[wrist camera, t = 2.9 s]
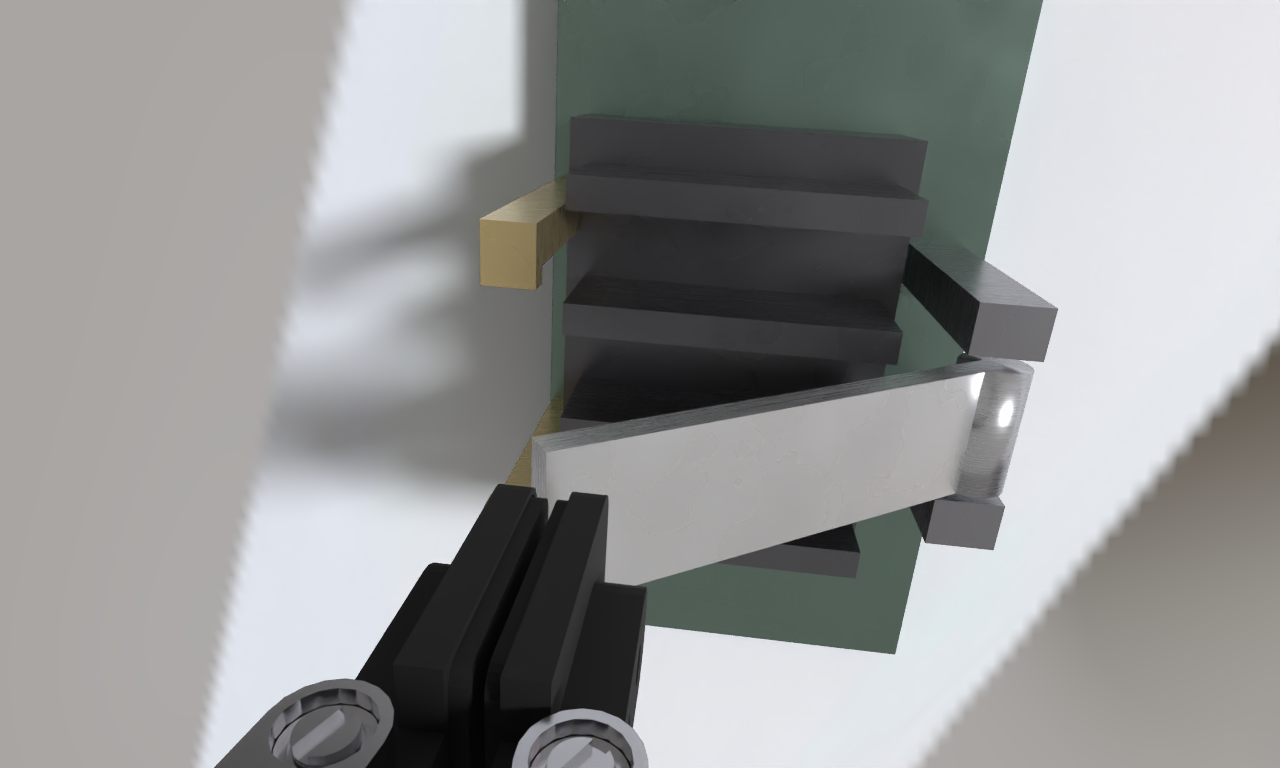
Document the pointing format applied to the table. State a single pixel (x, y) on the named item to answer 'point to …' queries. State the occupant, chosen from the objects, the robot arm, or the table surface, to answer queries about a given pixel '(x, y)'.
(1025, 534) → the table surface
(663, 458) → the retention strap
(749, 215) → the circuit board
